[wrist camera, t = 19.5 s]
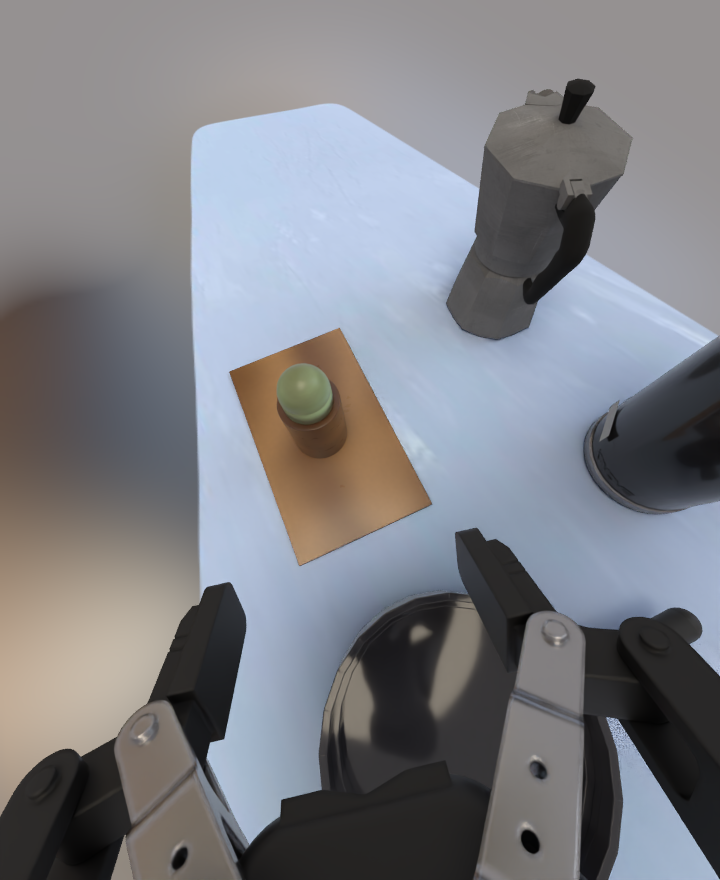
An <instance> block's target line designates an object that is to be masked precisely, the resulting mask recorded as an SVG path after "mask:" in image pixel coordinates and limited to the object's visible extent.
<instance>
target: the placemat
mask: <svg viewBox="0 0 720 880" xmlns="http://www.w3.org/2000/svg"><path fill="white" fill-rule="evenodd" d="M301 363H306V364H311V365H314V366H316V367H318V368H319V369H321V370H322V371H323V372H324V373H325V375H326V376H327V378H328V379H329V380H331V381H332V382H333V383H334V384H335V386H336V387H337V389H338V391H339V394H340V399H341V403H342V408H343V413H344V418H345V423H346V427H347V438H346V441H345V443H344V445H343V447H342V448H341V449H340V450H339V451H338V452H337V453H335V454H334V455H332V456H329V457H326V458H313V457H310V456H308V455H306V454H304V453H303V452H302V451H301V450H300V449H299V447H298V446H297V444H296V443H295V441H294V439H293V438H292V436H291V434H290V433H289V431H288V430H287V428H286V426H285V425H284V423H283V422H282V420H281V418H280V417H279V414H278V411H277V398H278V397H277V382H278V380H279V378H280V376H281V375H282V373H283V372H284V371H285V370H286V369H287V368H289V367H291V366H293V365H295V364H301ZM229 373H230V375H231V378H232V381H233V384H234V386H235V389H236V392H237V395H238V397H239V400H240V403H241V406H242V408H243V411H244V414H245V417H246V420H247V422H248V425H249V428H250V431H251V433H252V436H253V439H254V442H255V444H256V447H257V450H258V453H259V455H260V458H261V461H262V464H263V466H264V469H265V472H266V475H267V477H268V480H269V483H270V486H271V489H272V491H273V494H274V497H275V500H276V502H277V505H278V508H279V511H280V513H281V516H282V519H283V522H284V524H285V527H286V530H287V533H288V535H289V538H290V541H291V544H292V546H293V549H294V552H295V555H296V558H297V560H298V563H299V566H301V565H303V564H305V563H308V562H310V561H312V560H314V559H316V558H318V557H320V556H323V555H325V554H327V553H329V552H331V551H333V550H335V549H338V548H340V547H342V546H344V545H346V544H348V543H350V542H353V541H355V540H357V539H359V538H361V537H363V536H365V535H368V534H370V533H372V532H374V531H376V530H378V529H380V528H382V527H385V526H387V525H389V524H391V523H393V522H395V521H397V520H400V519H402V518H404V517H406V516H408V515H410V514H412V513H415V512H417V511H419V510H421V509H423V508H425V507H427V506H430V505H432V503H431V501H430V499H429V497H428V495H427V493H426V491H425V489H424V487H423V485H422V484H421V482H420V480H419V478H418V476H417V474H416V472H415V470H414V468H413V466H412V464H411V463H410V461H409V459H408V457H407V455H406V453H405V451H404V449H403V447H402V445H401V444H400V442H399V440H398V438H397V436H396V434H395V432H394V430H393V428H392V426H391V425H390V423H389V421H388V419H387V417H386V415H385V413H384V411H383V409H382V407H381V406H380V404H379V402H378V400H377V398H376V396H375V394H374V392H373V390H372V388H371V387H370V385H369V383H368V381H367V379H366V377H365V375H364V373H363V371H362V369H361V368H360V366H359V364H358V362H357V360H356V358H355V356H354V354H353V352H352V350H351V348H350V347H349V345H348V343H347V341H346V339H345V337H344V335H343V333H342V331H341V329H340V328H338V329H336V330H333V331H331V332H328V333H326V334H323V335H321V336H318V337H316V338H313V339H311V340H308V341H305V342H303V343H300V344H298V345H295V346H293V347H290V348H288V349H285V350H283V351H280V352H278V353H275V354H273V355H270V356H268V357H265V358H263V359H260V360H258V361H255V362H252V363H250V364H247V365H245V366H242V367H240V368H237V369H235V370H232V371H230V372H229Z"/></svg>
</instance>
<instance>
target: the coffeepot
mask: <svg viewBox="0 0 720 880" xmlns="http://www.w3.org/2000/svg"><path fill="white" fill-rule="evenodd" d="M594 89H595V85H593V84H592V83H591V82H590V81H589V80H583V79H575V80H572V81H569V82H568V84H567V86H566V90H565V94H564V97H563V96H562V95H561V94H559V93H558V92H553V91H552V90H550V89H547V90H543V91H541V92H540V93H537V94H536V93H535V91H533V90H531V91H529V92H528V95H527V99H526V103H525V105H523V106H520V107H517V108H514V109H511V110H507V111H504V112H501V113H499V115H498V117H497V120H496V122H495V124H494V126H493V128H492V130H491V133H490V135H489V137H488V139H487V141H486V144H485V146H484V157H483V164H482V172H481V181H480V189H479V198H478V206H477V215H476V223H475V233H476V235H477V237H476V239H475V241H474V243H473V245H472V247H471V250H470V252H469V254H468V256H467V258H466V260H465V262H464V264H463V266H462V268H461V270H460V272H459V274H458V276H457V278H456V281H455V283H454V285H453V288H452V290H451V293H450V295H449V297H448V300H447V302H446V304H447V306H448V308H449V310H450V312H451V314H452V316H453V318H454V319H455V321H456V322H457V323H458V324H459V325H460V326H461V328H462V329H463V330H466V331H468V332H470V333H472V334H475V335H477V336H481V337H485V338H494V339H501V338H504V337H508V336H511V335H513V334H515V333H517V332H519V331H521V330H523V329H526V328H528V327H529V325H530V322H531V319H532V316H533V314H534V311H535V308H536V305H537V302H538V300H539V299H540V298H541V297H543V296H544V295H545V294H546V293H547V292H548V291H549V290H551V289H552V288H553V287H554V286H555V285H556V284H557V283H558V282H559V281H560V280H561V279H563V278H564V277H565V276H566V275H567V274H568V273H569V272H571V271H572V270H573V269H574V268H575V267H576V266H577V265H578V264H579V263H580V262H581V261H582V259H583V258H584V256H585V255H586V253H587V250H588V248H589V246H590V240H591V237H592V232H593V227H594V222H595V209H596V208H597V206H598V205H599V204H600V202H601V201H602V200H603V199H604V197H605V196H606V195H607V194H608V192H609V191H610V189H611V188H612V187H613V186H614V185H615V183H616V182H617V181H618V179H619V178H620V177H621V176H622V175H623V174H624V170H625V166H626V162H627V158H628V154H629V150H630V146H631V142H632V137H631V136H630V135H629V134H628V133H627V132H626V131H624V130H623V129H622V128H621V127H620V126H619V125H618V124H617V123H615V122H614V121H613V120H612V119H611V118H610V117H609V116H607V115H606V114H605V113H604V112H603V111H602V110H601V109H600V108H597V107H592V106H586V104H587V102H588V100H589V99H590V97H591V96H592V94H593V92H594Z"/></svg>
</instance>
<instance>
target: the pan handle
mask: <svg viewBox="0 0 720 880" xmlns="http://www.w3.org/2000/svg"><path fill="white" fill-rule="evenodd" d="M651 619H653V620H656V621H659V622H661V623H663V624H665V625H667V626H669V627H670V628H672V629H673V630H675V631H676V632H677V633H678V634H679V635H681V636H682V637H683V638H684V640H685V641H686V642H687V643H688V644H690V643H692V642H694V641H696V640H697V639H699V638H700V636H701V634H702V625H701V623H700V621H699V620H698V618H697V617H696V616H695V615H694V614H692V613H691V612H689V611H687V610H685V609H682V608H670V609H667V610H665V611H663V612H662V613H660V614H658V615H656V616H654V617H652V618H651Z"/></svg>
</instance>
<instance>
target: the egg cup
mask: <svg viewBox="0 0 720 880" xmlns="http://www.w3.org/2000/svg"><path fill="white" fill-rule="evenodd" d="M277 397H278V398H277V411H278V414H279V417H280V418H281V420H282V422H283V423H284V425H285V426H286V428H287V430H288V431H289V433H290V434H291V436H292V438H293V439H294V441H295V443H296V444H297V446H298V447H299V449H300V450H301V451H302V452H303V453H304V454H306V455H308V456H310V457H313V458H326V457H329V456H332V455H334V454H335V453H337V452H338V451H339V450H340V449H341V448H342V447H343V445H344V443H345V441H346V438H347V427H346V423H345V418H344V413H343V408H342V403H341V399H340V394H339V391H338V389H337V387H336V386H335V384H334V383H333V382H332V381H331V380H329V379H328V378H327V376H326V375H325V373H324V372H323V371H322V370H321V369H319V368H318V367H316V366H314V365H311V364H306V363H301V364H295V365H293V366H291V367H289V368H287V369H286V370H285V371H284V372H283V373H282V375H281V376H280V378H279V380H278V382H277Z"/></svg>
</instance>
